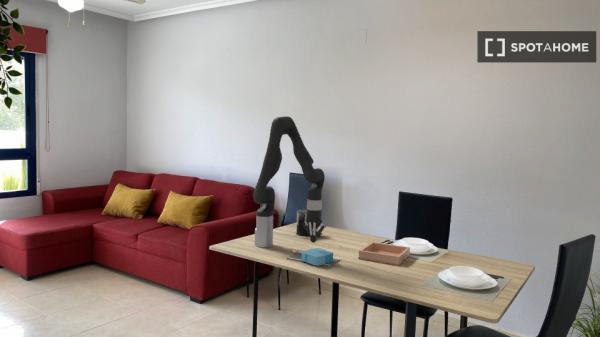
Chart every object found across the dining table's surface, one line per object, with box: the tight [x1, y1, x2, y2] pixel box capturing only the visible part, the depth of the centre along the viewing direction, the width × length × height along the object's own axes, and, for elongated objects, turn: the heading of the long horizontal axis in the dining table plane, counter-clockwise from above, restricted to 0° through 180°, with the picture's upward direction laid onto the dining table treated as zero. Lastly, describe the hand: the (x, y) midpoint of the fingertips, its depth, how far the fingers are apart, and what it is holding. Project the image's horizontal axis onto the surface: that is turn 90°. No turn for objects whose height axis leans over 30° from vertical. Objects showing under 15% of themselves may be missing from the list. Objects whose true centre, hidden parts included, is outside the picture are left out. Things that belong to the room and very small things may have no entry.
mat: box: [286, 251, 341, 268], centre depth 229 cm, size 24×12×1 cm, turn 62°
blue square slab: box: [301, 247, 334, 267], centre depth 224 cm, size 12×4×12 cm
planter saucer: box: [358, 241, 411, 266], centre depth 235 cm, size 21×20×4 cm
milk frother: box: [295, 209, 323, 237], centre depth 278 cm, size 14×16×15 cm
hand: (313, 242), depth 228 cm, fingers closed
